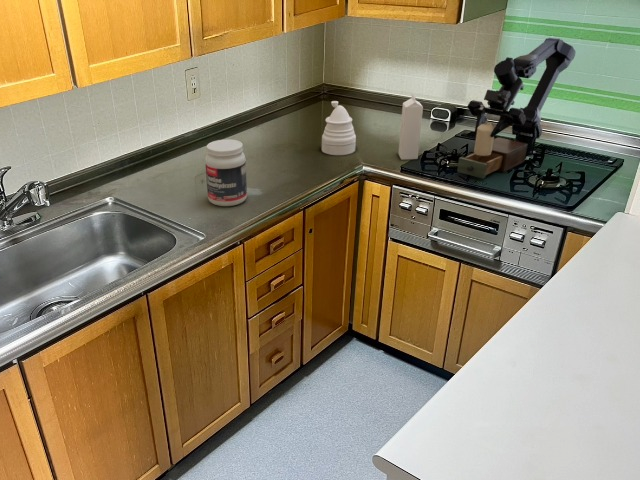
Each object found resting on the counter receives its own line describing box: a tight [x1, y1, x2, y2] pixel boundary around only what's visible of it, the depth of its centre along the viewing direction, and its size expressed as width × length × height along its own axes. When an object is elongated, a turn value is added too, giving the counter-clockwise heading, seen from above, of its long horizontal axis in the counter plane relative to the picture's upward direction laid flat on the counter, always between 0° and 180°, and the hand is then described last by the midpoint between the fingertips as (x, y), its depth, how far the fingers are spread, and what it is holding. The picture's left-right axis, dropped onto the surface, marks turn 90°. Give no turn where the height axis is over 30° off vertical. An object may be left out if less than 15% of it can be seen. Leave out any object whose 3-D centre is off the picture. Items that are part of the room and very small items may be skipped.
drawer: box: [456, 152, 504, 179], centre depth 211 cm, size 14×10×5 cm
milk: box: [398, 93, 424, 161], centre depth 224 cm, size 6×6×22 cm
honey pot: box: [321, 100, 357, 156], centre depth 236 cm, size 13×13×18 cm
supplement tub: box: [204, 138, 248, 207], centre depth 199 cm, size 13×13×18 cm
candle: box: [473, 122, 495, 156], centre depth 208 cm, size 6×6×10 cm
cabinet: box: [492, 136, 528, 173], centre depth 218 cm, size 14×11×7 cm
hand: (483, 134), depth 206 cm, fingers closed on candle, 5 cm apart
